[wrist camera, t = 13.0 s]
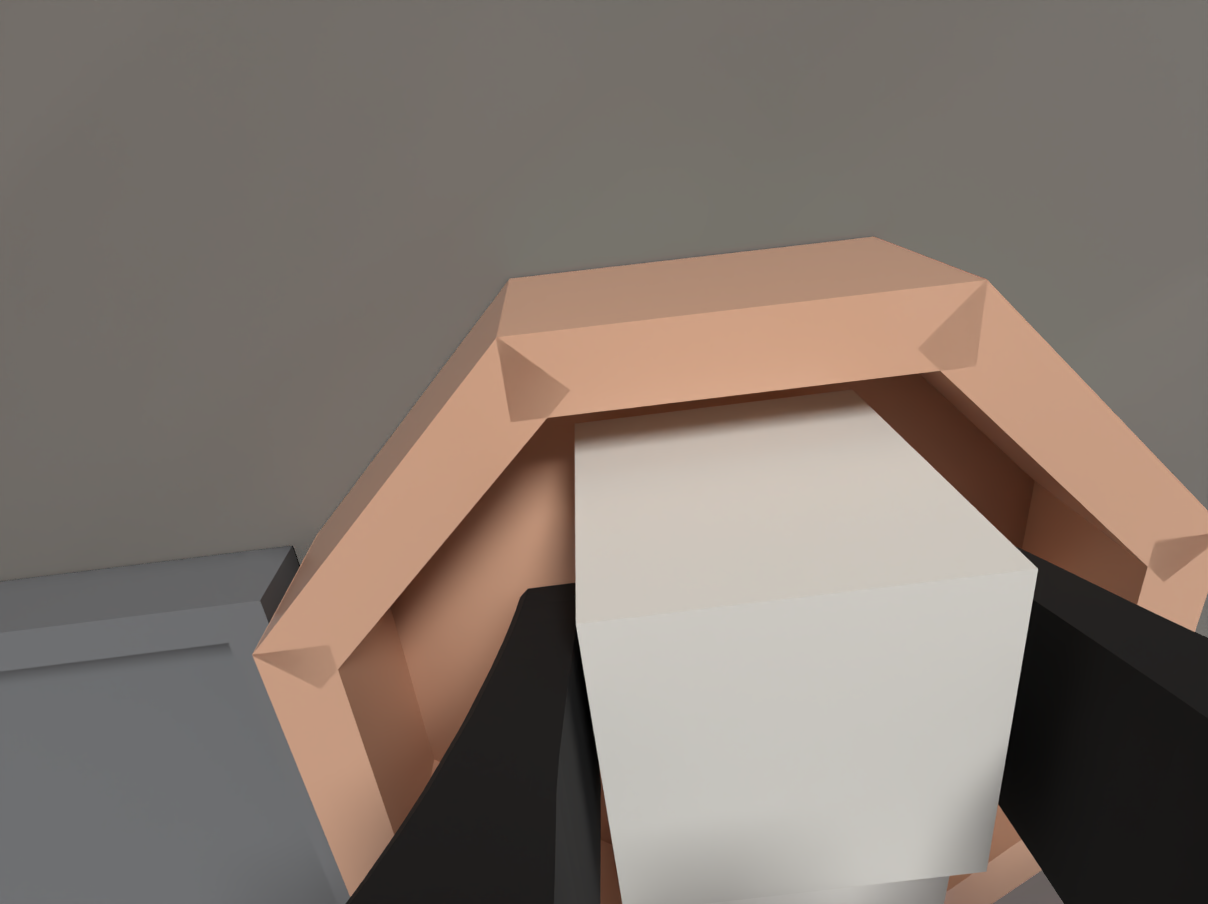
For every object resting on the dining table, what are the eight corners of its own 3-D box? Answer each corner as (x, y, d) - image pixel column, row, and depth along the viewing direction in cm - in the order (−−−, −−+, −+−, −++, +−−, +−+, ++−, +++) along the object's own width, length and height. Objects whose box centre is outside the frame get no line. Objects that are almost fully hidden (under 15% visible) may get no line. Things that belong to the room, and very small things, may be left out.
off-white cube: (844, 614, 12) (986, 872, 8) (606, 642, 12) (623, 912, 8) (852, 389, 10) (1038, 568, 6) (574, 423, 10) (576, 623, 6)
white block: (814, 782, 15) (917, 1035, 11) (623, 805, 15) (652, 1071, 11) (825, 629, 13) (952, 863, 9) (607, 653, 13) (636, 901, 9)
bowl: (1001, 804, 16) (1092, 942, 14) (430, 880, 16) (406, 1037, 13) (1126, 207, 11) (1326, 239, 8) (246, 308, 10) (139, 378, 8)
